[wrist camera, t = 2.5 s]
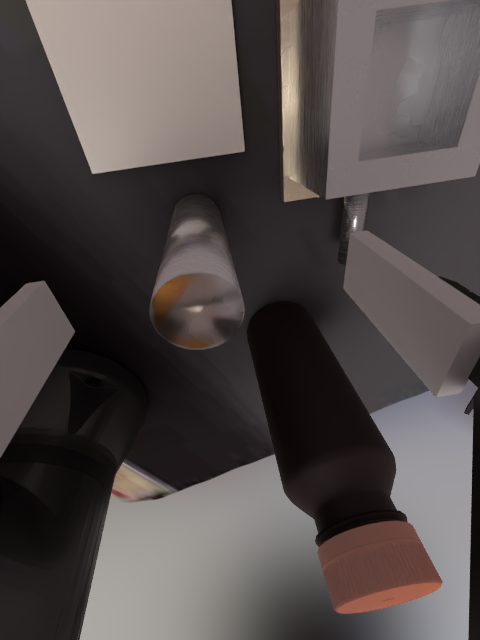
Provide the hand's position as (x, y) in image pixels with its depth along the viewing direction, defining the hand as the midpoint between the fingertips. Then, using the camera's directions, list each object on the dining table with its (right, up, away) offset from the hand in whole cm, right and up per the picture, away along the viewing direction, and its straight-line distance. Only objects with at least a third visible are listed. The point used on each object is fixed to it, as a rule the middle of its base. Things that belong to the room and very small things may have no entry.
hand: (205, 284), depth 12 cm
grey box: (+9, +11, +7) cm, 16 cm away
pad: (-4, +13, +3) cm, 14 cm away
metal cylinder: (-2, +6, +9) cm, 11 cm away
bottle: (+5, -2, +16) cm, 17 cm away
